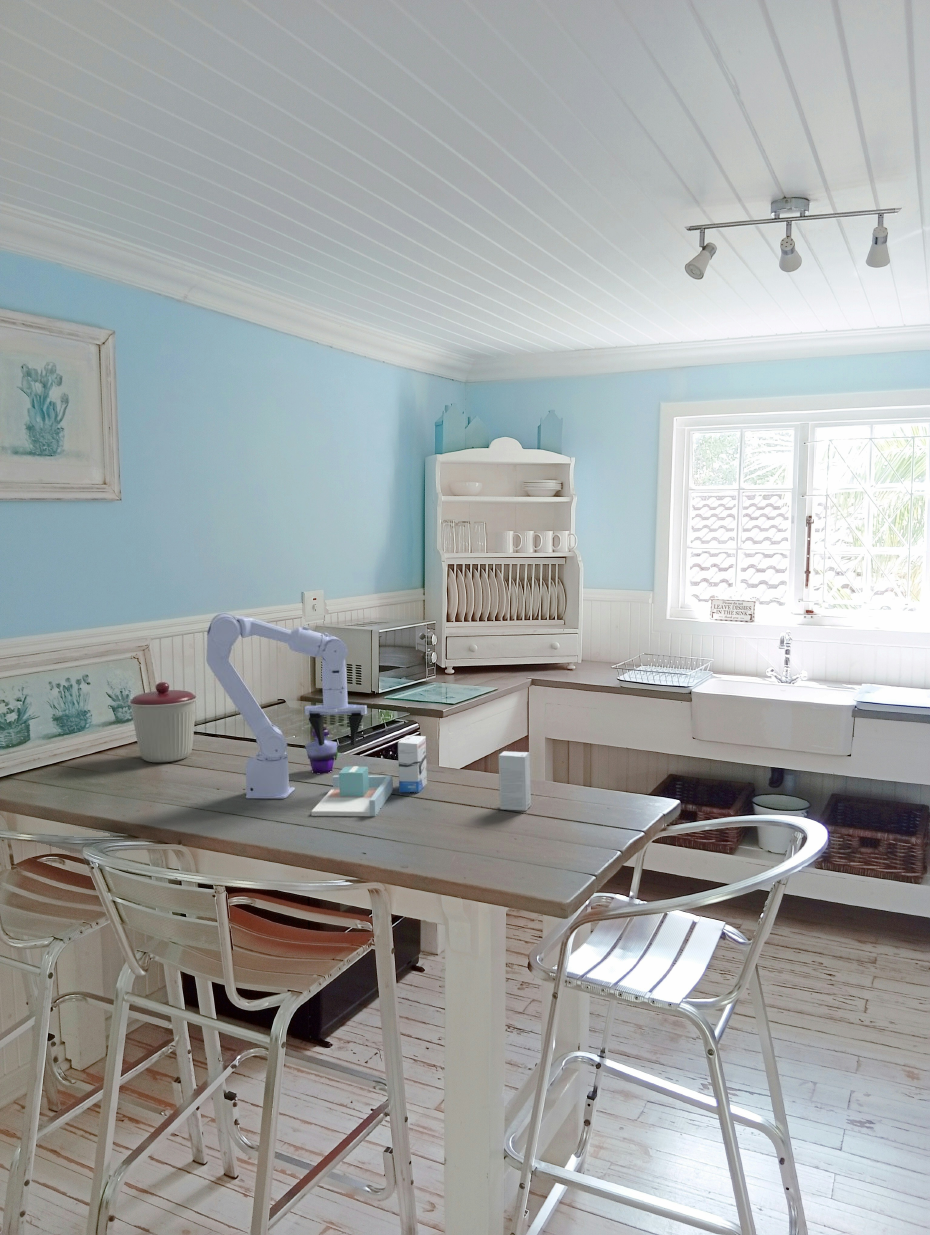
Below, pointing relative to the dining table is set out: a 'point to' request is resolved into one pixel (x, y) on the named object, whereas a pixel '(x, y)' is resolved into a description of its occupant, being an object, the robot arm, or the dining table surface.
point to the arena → (355, 799)
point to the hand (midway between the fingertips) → (337, 744)
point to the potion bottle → (322, 753)
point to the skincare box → (514, 780)
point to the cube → (353, 781)
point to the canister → (164, 723)
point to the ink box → (412, 763)
